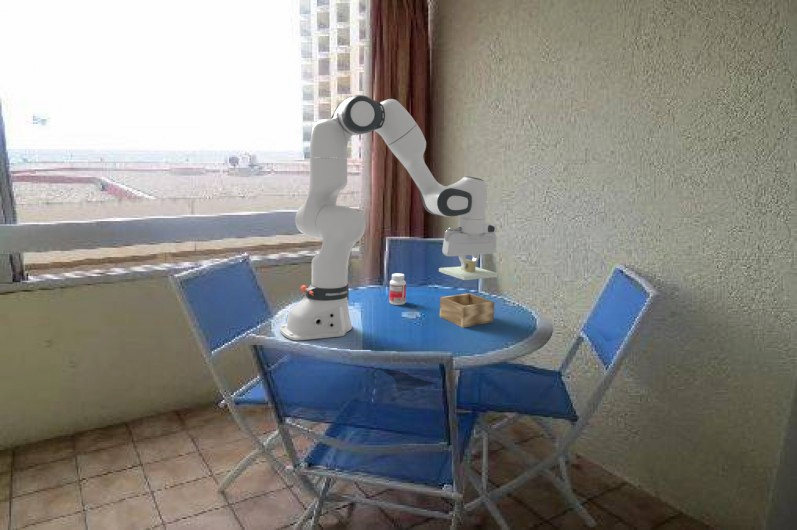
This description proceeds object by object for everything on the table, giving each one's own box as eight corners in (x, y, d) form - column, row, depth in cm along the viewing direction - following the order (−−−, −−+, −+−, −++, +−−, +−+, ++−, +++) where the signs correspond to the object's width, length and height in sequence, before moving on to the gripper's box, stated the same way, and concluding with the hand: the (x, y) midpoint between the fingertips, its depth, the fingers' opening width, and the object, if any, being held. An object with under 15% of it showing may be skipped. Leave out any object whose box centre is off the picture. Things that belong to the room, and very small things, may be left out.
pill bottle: (398, 300, 196) (399, 272, 194) (408, 303, 192) (409, 275, 190) (385, 302, 193) (386, 274, 190) (396, 306, 188) (396, 277, 186)
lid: (464, 280, 162) (465, 265, 161) (438, 271, 174) (439, 257, 173) (497, 276, 169) (498, 262, 168) (471, 268, 181) (472, 255, 180)
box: (462, 327, 166) (463, 306, 165) (439, 316, 177) (440, 297, 175) (493, 322, 173) (494, 302, 171) (469, 311, 183) (470, 293, 182)
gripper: (451, 228, 160) (448, 271, 163) (500, 227, 171) (497, 267, 173) (439, 226, 166) (437, 268, 168) (488, 225, 176) (485, 264, 179)
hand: (468, 268), depth 171 cm, fingers closed on lid
